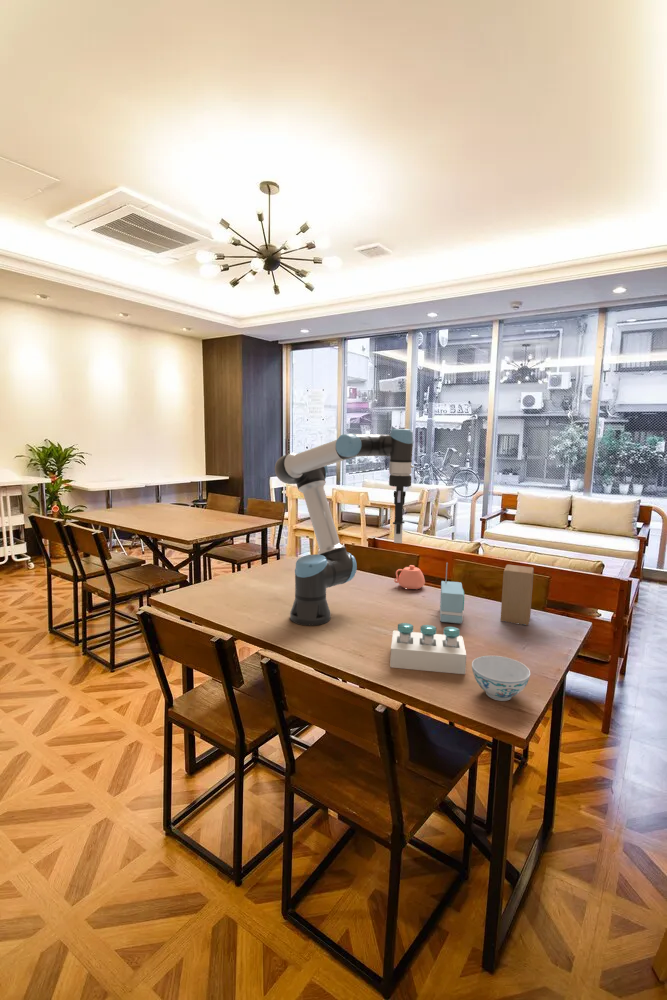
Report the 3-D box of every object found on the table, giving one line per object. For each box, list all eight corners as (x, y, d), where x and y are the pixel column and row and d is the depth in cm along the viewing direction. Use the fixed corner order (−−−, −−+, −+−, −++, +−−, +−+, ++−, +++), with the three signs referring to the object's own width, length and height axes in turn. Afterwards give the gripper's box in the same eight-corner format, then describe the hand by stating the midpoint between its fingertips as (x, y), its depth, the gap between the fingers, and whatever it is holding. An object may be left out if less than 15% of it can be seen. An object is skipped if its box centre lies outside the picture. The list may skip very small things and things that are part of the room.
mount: (390, 667, 151) (390, 648, 151) (392, 647, 165) (393, 630, 164) (465, 674, 148) (466, 655, 147) (461, 653, 161) (462, 636, 161)
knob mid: (419, 659, 154) (420, 630, 153) (419, 652, 159) (420, 624, 158) (435, 660, 154) (436, 631, 152) (434, 654, 158) (436, 625, 157)
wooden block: (530, 617, 195) (534, 567, 193) (528, 626, 186) (532, 573, 184) (503, 613, 199) (506, 564, 197) (500, 621, 190) (503, 570, 188)
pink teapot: (426, 591, 225) (427, 569, 223) (395, 591, 225) (396, 568, 224) (422, 583, 237) (423, 562, 236) (392, 582, 237) (393, 561, 236)
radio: (465, 626, 185) (467, 573, 183) (440, 623, 187) (442, 571, 184) (462, 611, 201) (465, 562, 198) (439, 609, 203) (442, 561, 200)
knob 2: (442, 661, 153) (444, 632, 152) (441, 654, 158) (443, 626, 157) (458, 662, 152) (460, 633, 151) (457, 656, 157) (459, 627, 156)
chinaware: (467, 702, 132) (469, 674, 131) (473, 677, 146) (474, 651, 145) (528, 714, 127) (530, 685, 126) (528, 687, 141) (530, 661, 140)
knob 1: (396, 657, 155) (397, 628, 154) (397, 650, 160) (398, 622, 159) (412, 658, 155) (413, 629, 153) (412, 652, 159) (413, 623, 158)
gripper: (411, 476, 164) (408, 547, 167) (411, 473, 177) (409, 539, 180) (388, 475, 165) (385, 545, 169) (390, 472, 178) (388, 538, 181)
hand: (397, 542), depth 174 cm, fingers closed
